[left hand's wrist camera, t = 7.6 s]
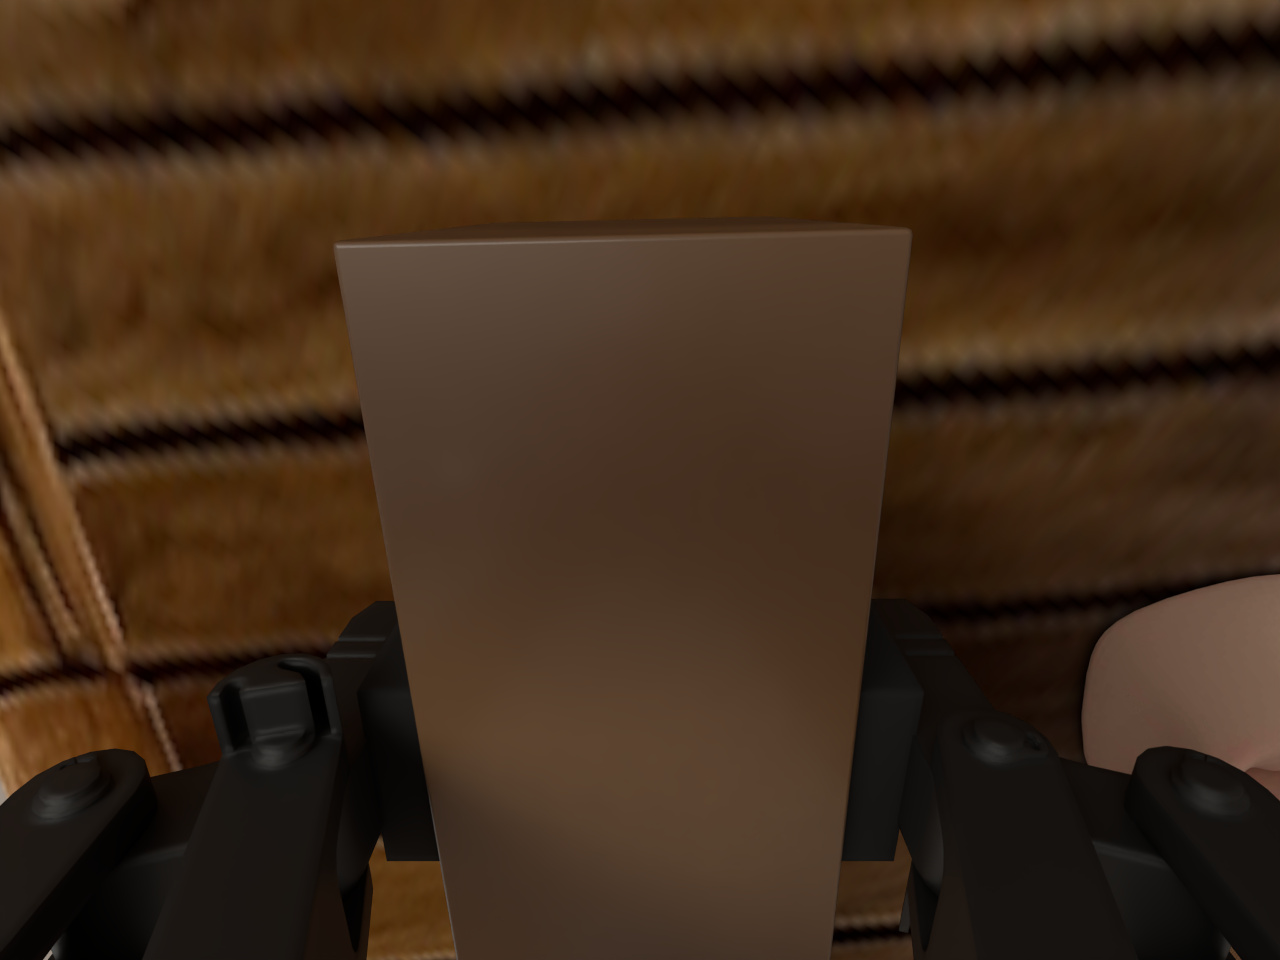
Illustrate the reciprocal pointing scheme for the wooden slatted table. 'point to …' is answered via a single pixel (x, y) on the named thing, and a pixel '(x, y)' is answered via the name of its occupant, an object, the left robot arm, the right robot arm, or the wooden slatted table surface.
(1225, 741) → the anatomical model
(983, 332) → the wooden slatted table surface
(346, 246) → the bar
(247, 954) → the left robot arm
